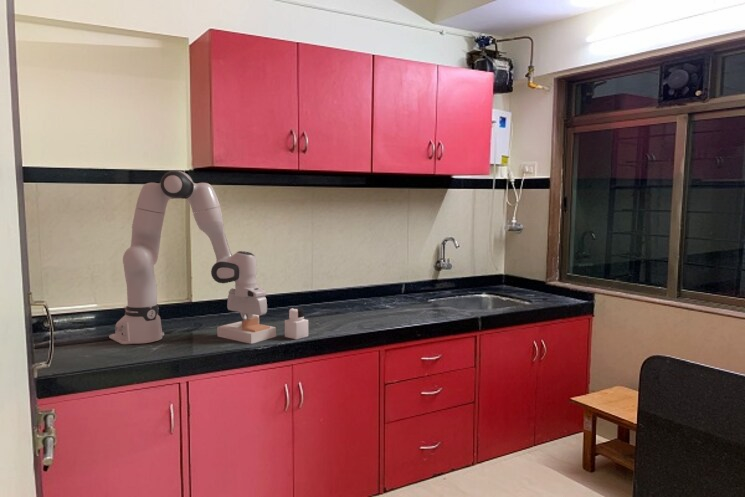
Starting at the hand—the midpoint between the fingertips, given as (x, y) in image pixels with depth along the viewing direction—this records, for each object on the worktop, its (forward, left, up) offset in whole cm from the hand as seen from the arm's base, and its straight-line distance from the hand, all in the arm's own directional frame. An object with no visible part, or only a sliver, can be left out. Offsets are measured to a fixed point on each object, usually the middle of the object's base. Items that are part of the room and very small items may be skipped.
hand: (246, 323), depth 232 cm
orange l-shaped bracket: (+5, 0, -2) cm, 6 cm away
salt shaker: (-8, +12, -6) cm, 16 cm away
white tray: (0, 0, -6) cm, 6 cm away
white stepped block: (+17, +12, -6) cm, 22 cm away
